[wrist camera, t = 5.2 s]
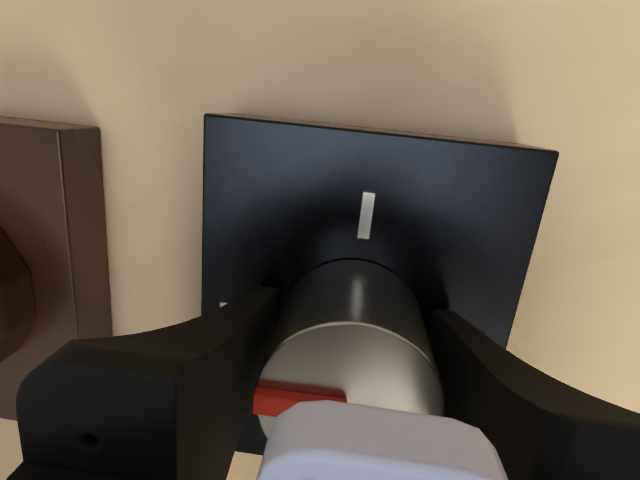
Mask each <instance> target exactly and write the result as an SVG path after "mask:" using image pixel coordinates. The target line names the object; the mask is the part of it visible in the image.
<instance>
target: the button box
mask: <svg viewBox="0 0 640 480" xmlns="http://www.w3.org/2000/svg"><path fill="white" fill-rule="evenodd" d="M105 337H112V325H111V309H110V293H109V277H108V261H107V245H106V229H105V213H104V197H103V181H102V165H101V149H100V133H99V128H97V127H92V126H83V125H74V124H65V123H56V122H47V121H38V120H29V119H20V118H11V117H2V116H0V418H3V419H10V420H16V421H17V415H16V394H17V391H18V388H19V385H20V383H21V382H22V380H23V379H24V378H25V377H26V376H27V374H28V373H29V372H30V371H32V370H33V369H34V368H35V367H37V366H38V365H39V364H40V363H42V362H43V361H44V360H46V359H47V358H48V357H49V356H51V355H52V354H53V353H54V352H56V351H57V350H58V349H59V348H61V347H62V346H63V345H65V344H66V343H67V342H68V341H70V340H72V339H90V338H105Z"/></svg>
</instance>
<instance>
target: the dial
mask: <svg viewBox="0 0 640 480" xmlns="http://www.w3.org/2000/svg"><path fill="white" fill-rule="evenodd" d="M321 400H331V401H338V402H344V403H351V404H358V405H365V406H372V407H379V408H386V409H392V410H399V411H406V412H413V413H420V414H427V415H433V416H440V417H445V412H446V398H445V392H444V387H443V384H442V381H441V378H440V374H439V371H438V368H437V365H436V361H435V358H434V355H433V352H432V348H431V345H430V342H429V339H428V335H427V332H426V329H425V326H424V322H423V319H422V316H421V313H420V309H419V306H418V304H417V301H416V299H415V297H414V295H413V293H412V291H411V290H410V289H409V287H408V286H407V285H406V284H405V283H404V282H403V280H402V279H400V278H399V277H398V276H397V275H396V274H394V273H393V272H391V271H389V270H388V269H386V268H384V267H382V266H380V265H377V264H374V263H371V262H367V261H361V260H339V261H334V262H330V263H327V264H324V265H321V266H319V267H317V268H315V269H313V270H312V271H310V272H309V273H307V274H306V275H305V276H304V277H303V278H301V279H300V280H299V282H298V283H297V284H296V285H295V286H294V288H293V289H292V291H291V292H290V295H289V297H288V299H287V301H286V304H285V306H284V309H283V312H282V314H281V317H280V319H279V322H278V325H277V327H276V330H275V332H274V335H273V338H272V340H271V343H270V345H269V348H268V350H267V353H266V356H265V358H264V361H263V363H262V366H261V369H260V371H259V374H258V377H257V381H256V385H255V391H254V394H253V410H252V413H253V414H257V417H258V420H259V423H260V426H261V428H262V430H263V432H264V434H265V435H266V437H267V438H268V436H269V434H270V432H271V429H272V427H273V425H274V422H275V420H276V418H277V416H278V415H279V414H281V413H283V412H284V411H286V410H287V409H289V408H290V407H292V406H294V405H295V404H297V403H298V402H307V401H321Z"/></svg>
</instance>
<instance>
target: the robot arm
mask: <svg viewBox="0 0 640 480" xmlns="http://www.w3.org/2000/svg"><path fill="white" fill-rule="evenodd" d="M278 296H279V288H274V287H267V286H259V287H256V288H255V289H253V290H251V291H249V292H247V293H246V294H244V295H242V296H240V297H239V298H237V299H235V300H233V301H231V302H230V303H228V304H226V305H224V306H221V307H219V308H217V309H215V310H213V311H211V312H209V313H207V314H204V315H202V316H199V317H197V318H194V319H191V320H188V321H186V322H183V323H180V324H176V325H172V326H168V327H164V328H160V329H156V330H152V331H148V332H142V333H137V334H130V335H123V336H116V337H105V338H90V339H72V340H70V341H68V342H67V343H66V344H65V345H63V346H62V347H61V348H59V349H58V350H57V351H56V352H54V353H53V354H52V355H51V356H49V357H48V358H47V359H46V360H44V361H43V362H42V363H40V364H39V365H38V366H37V367H35V368H34V369H33V370H32V371H30V372H29V373H28V374H27V376H26V377H25V378H24V379H23V380H22V382H21V383H20V385H19V388H18V391H17V394H16V415H17V421H18V428H19V434H20V441H21V448H22V454H23V460H24V461H23V462H22V463H21V464H20V465H19V466H18V467H17V468H16V469H15V471H14V472H13V473H12V474H11V475H10V476H9V477H8V478H7V479H6V480H226V478H227V474H228V471H229V468H230V464H231V461H232V458H233V455H234V452H235V448H236V445H237V442H238V439H239V436H240V433H241V431H242V428H243V425H244V423H245V421H246V418H247V416H248V414H249V411H250V409H251V407H252V405H253V394H254V391H255V385H256V381H257V377H258V374H259V371H260V369H261V366H262V363H263V361H264V358H265V356H266V353H267V350H268V348H269V345H270V343H271V340H272V338H273V335H274V332H275V330H276V322H277V309H278ZM427 335H428V339H429V342H430V345H431V348H432V352H433V355H434V358H435V361H436V365H437V368H438V371H439V374H440V378H441V381H442V384H443V387H444V392H445V398H446V412H445V417H440V416H433V415H427V414H420V413H413V412H406V411H399V410H392V409H386V408H379V407H372V406H365V405H358V404H351V403H344V402H338V401H331V400H321V401H307V402H298V403H297V404H295V405H294V406H292V407H290V408H289V409H287V410H286V411H284V412H283V413H281V414H279V415H278V416H277V418H276V420H275V422H274V425H273V427H272V429H271V432H270V434H269V436H268V440H267V443H266V447H265V451H264V454H263V458H262V461H261V465H260V468H259V472H258V476H257V479H256V480H640V413H637V412H633V411H630V410H628V409H625V408H622V407H620V406H617V405H614V404H612V403H609V402H606V401H604V400H601V399H598V398H596V397H594V396H591V395H589V394H586V393H584V392H582V391H580V390H577V389H575V388H573V387H571V386H569V385H567V384H565V383H562V382H560V381H558V380H556V379H554V378H552V377H550V376H548V375H547V374H545V373H543V372H541V371H539V370H538V369H536V368H534V367H532V366H531V365H529V364H527V363H525V362H524V361H522V360H521V359H519V358H517V357H516V356H514V355H513V354H511V353H510V352H508V351H507V350H506V349H504V348H503V347H501V346H500V345H498V344H497V343H496V342H494V341H493V340H491V339H490V338H489V337H487V336H486V335H485V334H483V333H482V332H481V331H480V330H478V329H477V328H476V327H474V326H473V325H472V324H470V323H469V322H468V321H467V320H465V319H464V318H463V317H461V316H460V315H458V314H457V313H455V312H453V311H450V310H442V309H434V308H433V309H432V314H431V319H430V323H429V328H428V333H427Z"/></svg>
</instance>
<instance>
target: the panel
mask: <svg viewBox="0 0 640 480" xmlns="http://www.w3.org/2000/svg"><path fill="white" fill-rule="evenodd" d="M558 156H559V152H558V151H555V150H550V149H544V148H539V147H534V146H529V145H523V144H518V143H509V142H499V141H490V140H481V139H471V138H462V137H452V136H443V135H434V134H424V133H415V132H406V131H396V130H387V129H377V128H368V127H359V126H349V125H340V124H330V123H321V122H312V121H302V120H293V119H283V118H274V117H265V116H255V115H246V114H237V113H206V114H205V115H204V145H203V224H202V303H201V316H202V315H204V314H207V313H209V312H211V311H213V310H215V309H217V308H219V307H221V306H224V305H226V304H228V303H230V302H231V301H233V300H235V299H237V298H239V297H240V296H242V295H244V294H246V293H247V292H249V291H251V290H253V289H255V288H256V287H259V286H267V287H274V288H279V296H278V309H277V322H276V327H277V325H278V322H279V319H280V317H281V314H282V312H283V309H284V306H285V304H286V301H287V299H288V297H289V295H290V292H291V291H292V289H293V288H294V286H295V285H296V284H297V283H298V282H299V280H300V279H301V278H303V277H304V276H305V275H306V274H307V273H309V272H310V271H312V270H313V269H315V268H317V267H319V266H321V265H324V264H327V263H330V262H334V261H339V260H361V261H367V262H371V263H374V264H377V265H380V266H382V267H384V268H386V269H388V270H389V271H391V272H393V273H394V274H396V275H397V276H398V277H399V278H400V279H402V280H403V282H404V283H405V284H406V285H407V286H408V287H409V289H410V290H411V291H412V293H413V295H414V297H415V299H416V301H417V304H418V306H419V309H420V313H421V316H422V319H423V322H424V326H425V329H426V332H427V333H428V328H429V323H430V319H431V314H432V309H433V308H434V309H442V310H450V311H453V312H455V313H457V314H458V315H460V316H461V317H463V318H464V319H465V320H467V321H468V322H469V323H470V324H472V325H473V326H474V327H476V328H477V329H478V330H480V331H481V332H482V333H483V334H485V335H486V336H487V337H489V338H490V339H491V340H493V341H494V342H496V343H497V344H498V345H500V346H501V347H503V348H504V349H506V346H507V343H508V339H509V335H510V332H511V328H512V324H513V321H514V317H515V313H516V310H517V306H518V302H519V299H520V295H521V291H522V288H523V284H524V280H525V277H526V273H527V269H528V266H529V262H530V258H531V255H532V251H533V247H534V244H535V240H536V236H537V233H538V229H539V225H540V222H541V218H542V214H543V211H544V207H545V204H546V200H547V196H548V193H549V189H550V185H551V182H552V178H553V174H554V171H555V167H556V163H557V160H558ZM252 410H253V405H252V407H251V409H250V411H249V414H248V416H247V418H246V421H245V423H244V425H243V428H242V431H241V433H240V436H239V439H238V442H237V445H236V448H235V451H238V452H244V453H251V454H257V455H263V454H264V451H265V447H266V443H267V440H268V438H267V437H266V435H265V434H264V432H263V430H262V428H261V426H260V423H259V420H258V417H257V414H253V413H252Z"/></svg>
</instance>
